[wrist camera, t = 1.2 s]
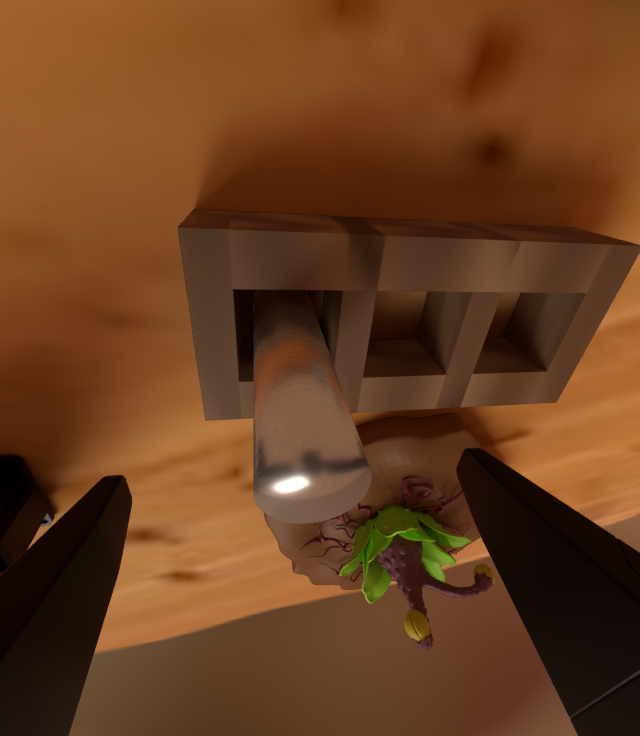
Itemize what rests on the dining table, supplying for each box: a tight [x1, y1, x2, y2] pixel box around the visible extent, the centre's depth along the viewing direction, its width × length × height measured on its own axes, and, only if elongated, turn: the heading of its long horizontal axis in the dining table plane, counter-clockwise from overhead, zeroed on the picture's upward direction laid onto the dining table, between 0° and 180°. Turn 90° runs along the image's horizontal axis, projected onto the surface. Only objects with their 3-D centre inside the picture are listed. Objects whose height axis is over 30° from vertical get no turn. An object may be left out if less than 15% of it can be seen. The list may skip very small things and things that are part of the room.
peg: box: [254, 290, 372, 524], centre depth 14 cm, size 3×3×12 cm
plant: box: [264, 413, 495, 651], centre depth 26 cm, size 20×20×11 cm
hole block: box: [178, 209, 640, 421], centre depth 18 cm, size 20×9×4 cm, turn 86°
